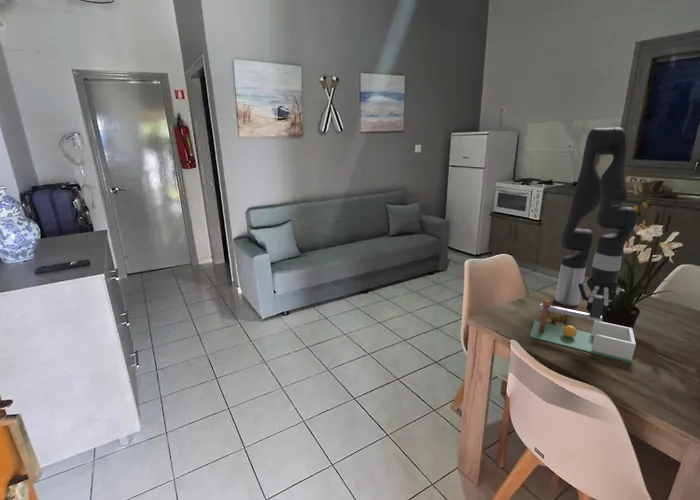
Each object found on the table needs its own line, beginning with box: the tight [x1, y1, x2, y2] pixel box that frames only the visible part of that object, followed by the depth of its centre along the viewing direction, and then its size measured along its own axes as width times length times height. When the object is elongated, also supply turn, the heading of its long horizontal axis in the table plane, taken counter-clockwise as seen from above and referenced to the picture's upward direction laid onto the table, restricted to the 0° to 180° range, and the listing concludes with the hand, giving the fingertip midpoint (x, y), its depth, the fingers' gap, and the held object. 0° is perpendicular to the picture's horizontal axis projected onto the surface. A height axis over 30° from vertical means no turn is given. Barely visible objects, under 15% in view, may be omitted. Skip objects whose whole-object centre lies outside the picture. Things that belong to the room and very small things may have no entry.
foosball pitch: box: [529, 319, 637, 364], centre depth 129 cm, size 14×30×6 cm, turn 58°
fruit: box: [546, 311, 567, 327], centre depth 143 cm, size 8×8×4 cm
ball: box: [563, 324, 577, 338], centre depth 131 cm, size 4×4×4 cm
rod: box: [539, 294, 604, 332], centre depth 129 cm, size 4×19×17 cm, turn 58°
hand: (595, 312), depth 124 cm, fingers closed on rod, 3 cm apart
